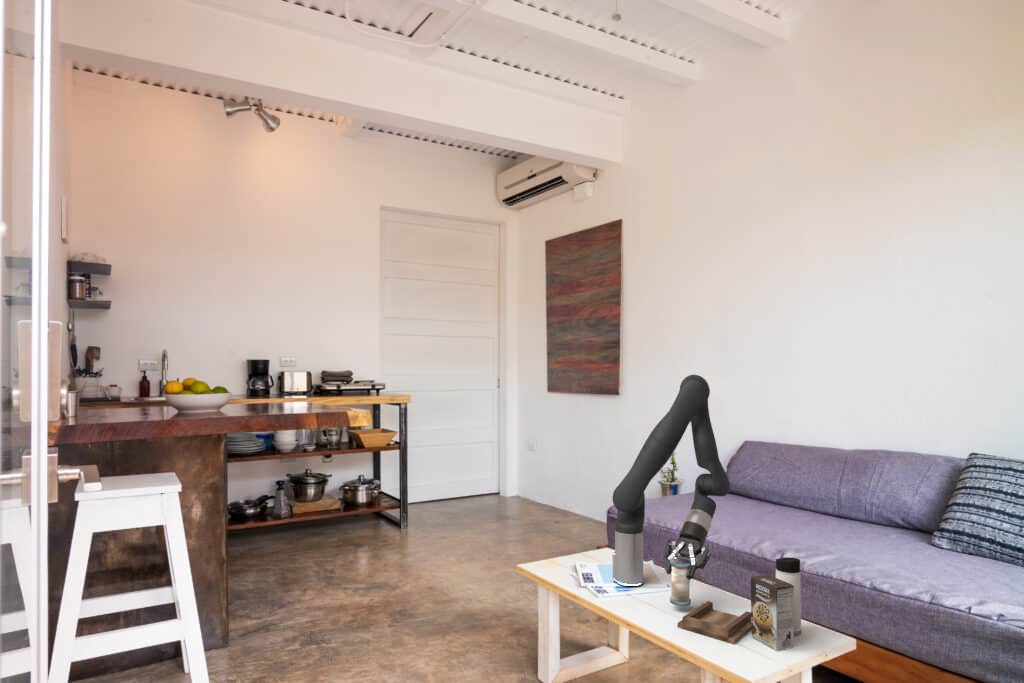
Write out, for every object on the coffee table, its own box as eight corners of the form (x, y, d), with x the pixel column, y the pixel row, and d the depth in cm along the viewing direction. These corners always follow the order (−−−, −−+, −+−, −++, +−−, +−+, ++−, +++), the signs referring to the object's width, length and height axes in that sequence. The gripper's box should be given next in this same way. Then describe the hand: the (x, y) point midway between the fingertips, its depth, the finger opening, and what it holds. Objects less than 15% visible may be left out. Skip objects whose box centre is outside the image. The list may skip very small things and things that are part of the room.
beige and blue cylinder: (666, 602, 189) (666, 561, 190) (675, 597, 194) (676, 557, 194) (685, 607, 185) (685, 566, 186) (694, 602, 190) (694, 561, 190)
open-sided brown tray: (677, 627, 177) (677, 615, 177) (703, 610, 189) (703, 599, 189) (733, 644, 166) (733, 631, 166) (757, 625, 178) (757, 614, 178)
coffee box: (750, 637, 170) (749, 576, 171) (768, 633, 173) (767, 573, 173) (776, 651, 162) (775, 587, 162) (795, 647, 164) (794, 584, 165)
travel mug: (791, 638, 170) (790, 562, 170) (771, 629, 176) (770, 555, 176) (807, 633, 173) (806, 559, 173) (787, 624, 179) (786, 552, 179)
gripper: (670, 516, 200) (651, 563, 191) (714, 525, 191) (696, 574, 182) (678, 530, 204) (660, 576, 195) (722, 539, 195) (704, 588, 185)
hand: (677, 575), depth 188 cm, fingers closed on beige and blue cylinder, 6 cm apart
